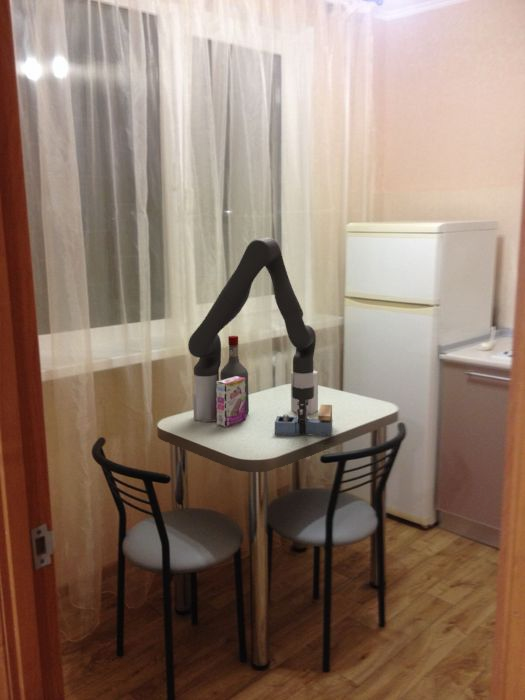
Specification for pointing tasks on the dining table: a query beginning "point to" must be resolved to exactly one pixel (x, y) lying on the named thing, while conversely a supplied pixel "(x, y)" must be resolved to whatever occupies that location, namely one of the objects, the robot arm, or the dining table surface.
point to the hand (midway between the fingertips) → (303, 431)
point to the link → (311, 426)
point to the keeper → (325, 412)
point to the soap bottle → (312, 402)
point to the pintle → (285, 418)
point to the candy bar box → (231, 401)
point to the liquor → (235, 366)
